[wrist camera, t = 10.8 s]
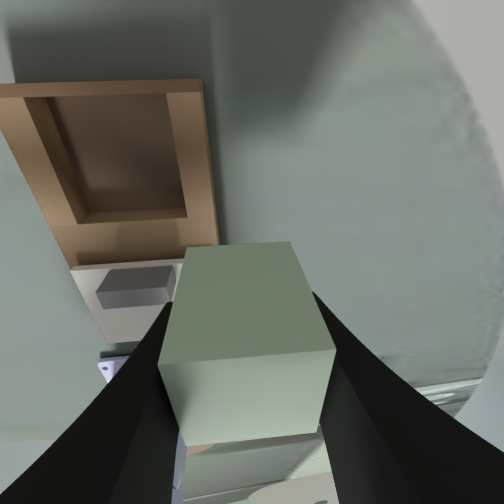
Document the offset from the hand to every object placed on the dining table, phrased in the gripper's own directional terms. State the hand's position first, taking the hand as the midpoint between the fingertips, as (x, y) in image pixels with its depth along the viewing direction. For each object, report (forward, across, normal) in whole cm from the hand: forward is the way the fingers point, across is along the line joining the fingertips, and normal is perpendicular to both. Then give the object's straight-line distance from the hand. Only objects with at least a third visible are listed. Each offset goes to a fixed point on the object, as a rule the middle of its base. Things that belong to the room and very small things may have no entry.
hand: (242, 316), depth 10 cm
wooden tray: (+9, +6, -1) cm, 11 cm away
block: (+2, 0, 0) cm, 2 cm away
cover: (+6, +6, +5) cm, 10 cm away
